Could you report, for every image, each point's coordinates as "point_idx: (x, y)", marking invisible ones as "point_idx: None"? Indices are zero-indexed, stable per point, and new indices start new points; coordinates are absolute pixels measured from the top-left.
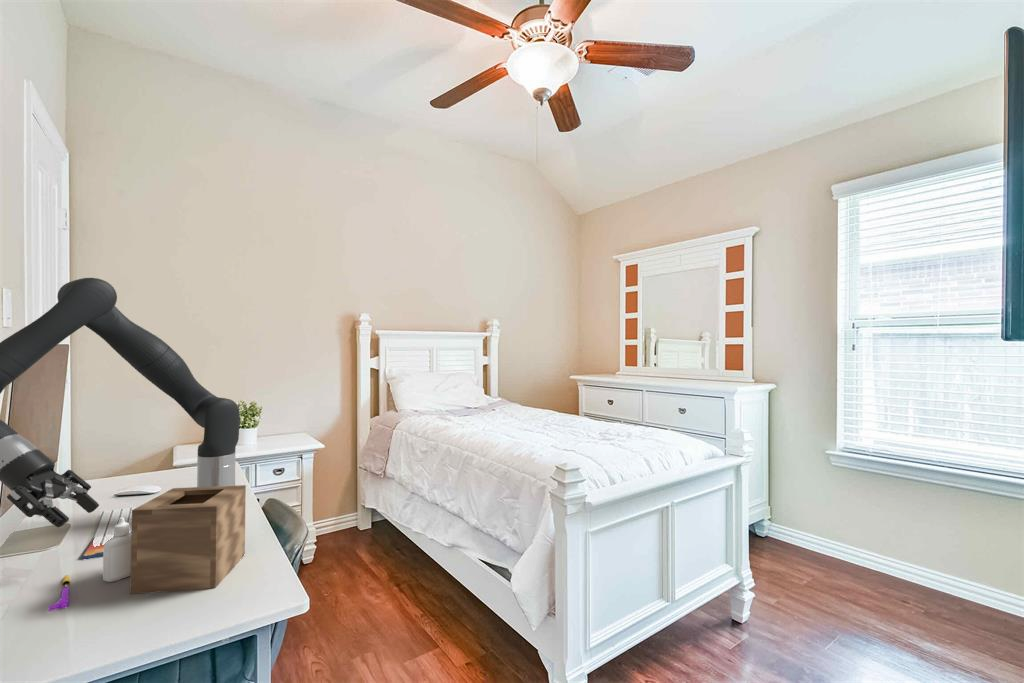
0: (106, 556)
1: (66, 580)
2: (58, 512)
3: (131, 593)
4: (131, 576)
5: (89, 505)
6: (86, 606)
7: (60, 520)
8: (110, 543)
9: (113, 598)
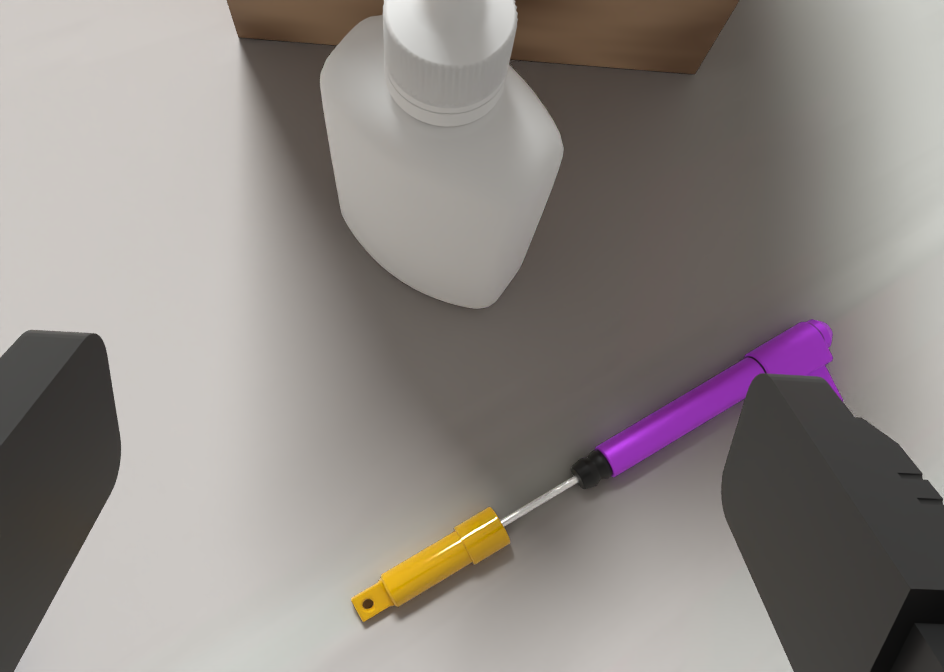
0: (541, 208)
1: (496, 525)
2: (897, 481)
3: (694, 68)
4: (734, 3)
5: (66, 453)
6: (808, 226)
7: (871, 428)
8: (554, 133)
9: (731, 136)
